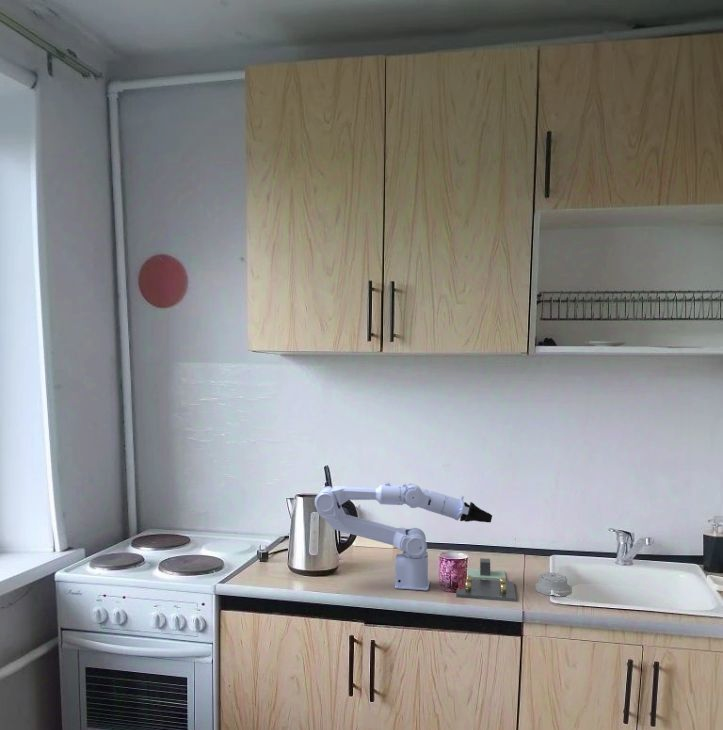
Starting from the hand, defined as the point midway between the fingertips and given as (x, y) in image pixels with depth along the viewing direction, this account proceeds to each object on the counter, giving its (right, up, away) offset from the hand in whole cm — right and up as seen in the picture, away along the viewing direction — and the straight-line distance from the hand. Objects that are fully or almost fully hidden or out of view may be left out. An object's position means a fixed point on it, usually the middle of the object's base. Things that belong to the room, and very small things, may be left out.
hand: (488, 518), depth 178 cm
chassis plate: (-1, -20, -3) cm, 20 cm away
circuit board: (+1, -20, +11) cm, 23 cm away
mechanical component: (+18, -20, -3) cm, 27 cm away
